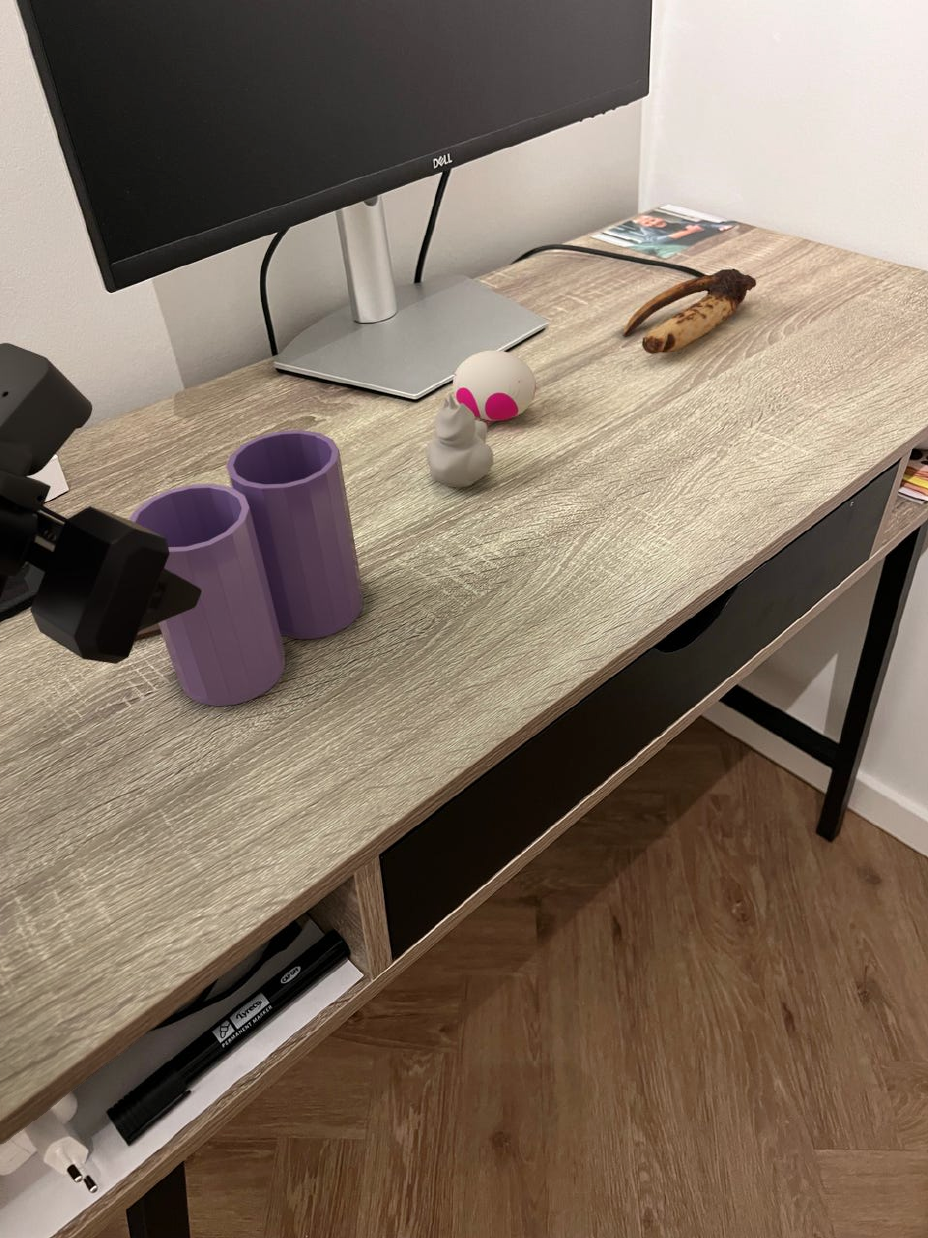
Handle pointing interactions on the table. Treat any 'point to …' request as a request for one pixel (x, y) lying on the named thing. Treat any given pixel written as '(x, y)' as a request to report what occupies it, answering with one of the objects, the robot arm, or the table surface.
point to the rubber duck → (458, 446)
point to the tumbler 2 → (301, 529)
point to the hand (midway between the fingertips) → (143, 569)
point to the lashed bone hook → (692, 309)
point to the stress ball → (494, 385)
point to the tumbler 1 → (217, 595)
